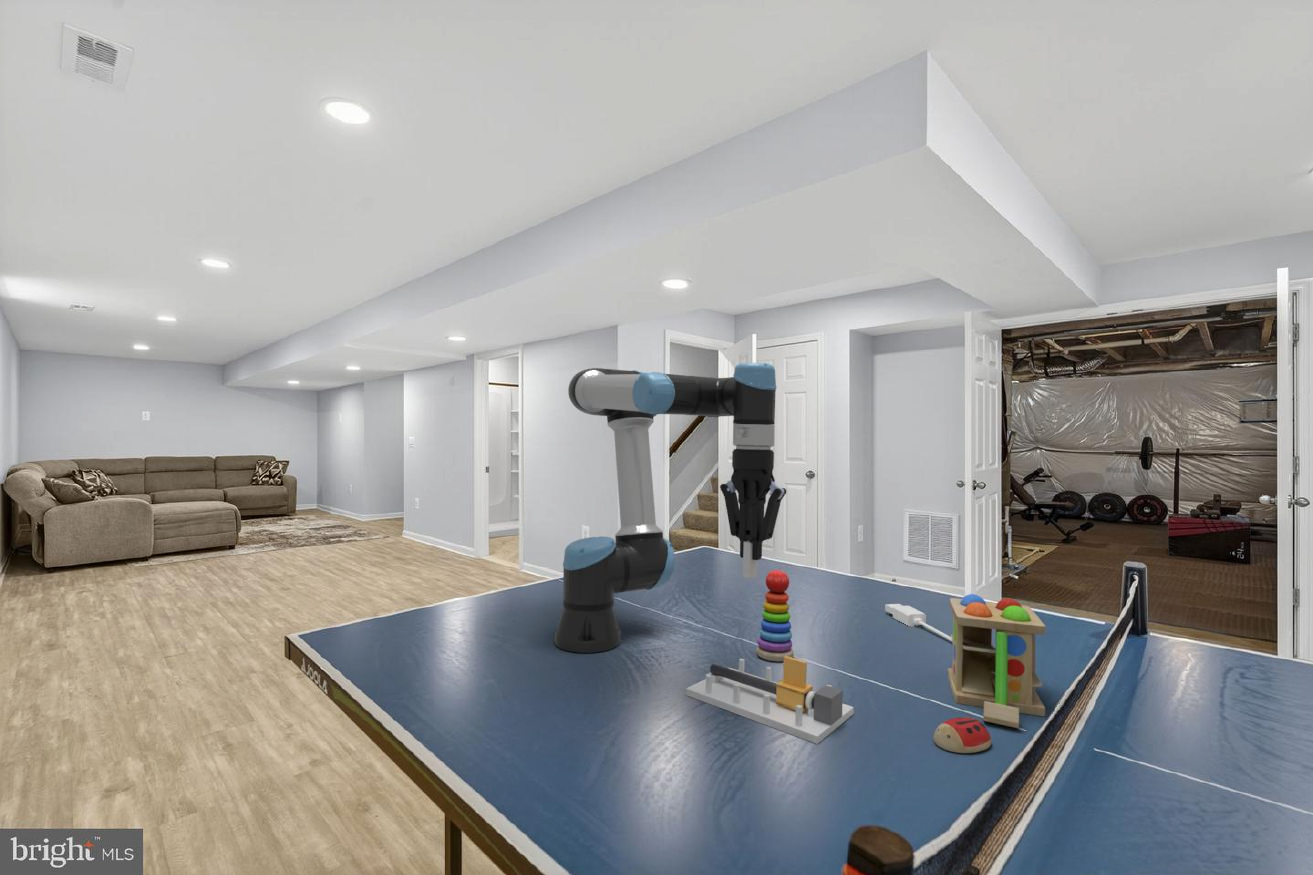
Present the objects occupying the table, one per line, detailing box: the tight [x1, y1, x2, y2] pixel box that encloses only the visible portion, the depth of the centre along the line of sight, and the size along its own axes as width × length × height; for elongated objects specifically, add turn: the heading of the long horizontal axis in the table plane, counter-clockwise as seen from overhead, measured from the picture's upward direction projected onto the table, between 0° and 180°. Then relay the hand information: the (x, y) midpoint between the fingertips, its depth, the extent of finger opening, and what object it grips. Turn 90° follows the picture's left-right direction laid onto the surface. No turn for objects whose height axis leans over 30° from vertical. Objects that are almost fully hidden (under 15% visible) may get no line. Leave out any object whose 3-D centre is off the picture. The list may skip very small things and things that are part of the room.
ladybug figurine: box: [933, 717, 992, 754], centre depth 96 cm, size 7×10×4 cm
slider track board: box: [685, 658, 855, 745], centre depth 108 cm, size 26×14×6 cm, turn 49°
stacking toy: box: [755, 569, 795, 662], centre depth 132 cm, size 8×8×19 cm
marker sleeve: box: [776, 656, 814, 713], centre depth 105 cm, size 5×4×8 cm
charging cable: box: [884, 603, 952, 642], centre depth 151 cm, size 5×32×3 cm, turn 12°
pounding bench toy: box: [947, 593, 1046, 729], centre depth 111 cm, size 23×14×18 cm, turn 159°
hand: (750, 576), depth 111 cm, fingers closed
